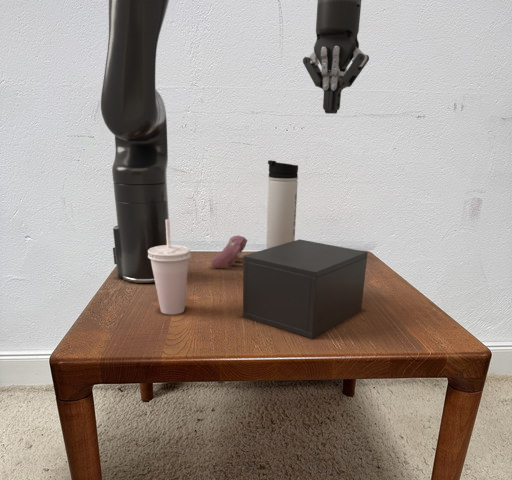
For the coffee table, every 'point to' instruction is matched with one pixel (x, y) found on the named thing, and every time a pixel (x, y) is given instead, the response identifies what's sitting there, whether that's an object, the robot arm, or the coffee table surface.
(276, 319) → the dark grey lidded box
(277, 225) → the travel mug
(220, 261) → the pink rounded figure
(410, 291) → the coffee table surface
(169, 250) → the smoothie
